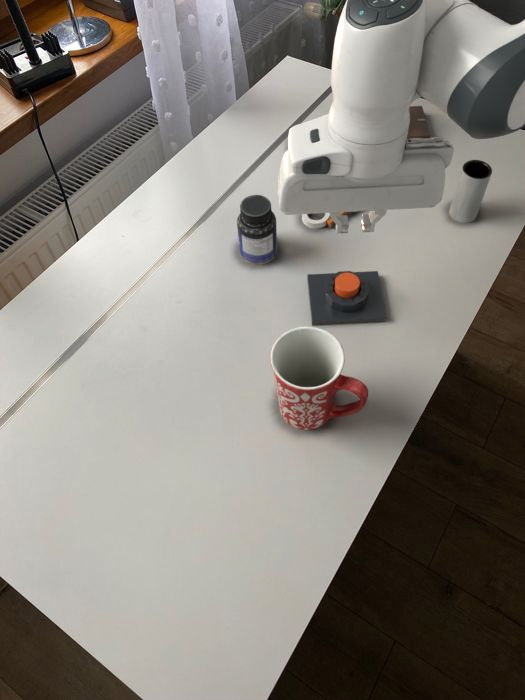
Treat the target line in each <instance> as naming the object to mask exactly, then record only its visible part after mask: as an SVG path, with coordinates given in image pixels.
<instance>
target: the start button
mask: <svg viewBox="0 0 525 700" xmlns="http://www.w3.org/2000/svg"><path fill="white" fill-rule="evenodd" d="M359 286H360V280H359V278H358V277H357V276H356V275H354V274H352V273H342V274H340V275H339V276H337V278H336V280H335V292H336V294H337V295H338V296H340V297H342V298H346V299H349V298H353V297H355V296H356V295H357V294H358V291H359Z"/></svg>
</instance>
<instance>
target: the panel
mask: <svg viewBox="0 0 525 700" xmlns="http://www.w3.org/2000/svg"><path fill="white" fill-rule="evenodd" d="M409 109H410V123H409V128H408V134H407V138H425V139H426V138H432V135H431V131H430V128H429V124H428V121H427V118H426V115H425V111H424V108H423V105H410V108H409Z"/></svg>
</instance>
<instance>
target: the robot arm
mask: <svg viewBox="0 0 525 700" xmlns="http://www.w3.org/2000/svg"><path fill="white" fill-rule="evenodd" d="M331 59H332V60H331V71H330V72H331V73H330V86H331V92H332V96H333V98H332V103H331V105H330V107H329V111H328V113H326V114H324V115H321V116H319V117H316V118H313V119H311V120H308V121H305V122H301V123H298V124H295V125H293V126H292V127H291V128H289V130H288V137H287V148H288V149H286V151H285V152H284V154H283V155H282V158H281V161H280V164H279V170H278V177H277V204H278V205H277V206H278V210H279V211H280V212H281V213H282V214H284V215H285V216H293V215H302V214H309V215H311V214H315V213H330V217H331V219H332V220H333V221H334V222H335V224H336V226H335V232H336V234H337V235H338V234H348V233H349V226H350V223H349V216H348V217H347V215H341V212H354V213H356V212H368V213H363V214H362V215H361V222H360V226H361V232H362V233H374V232H375V227H376V224H377V223H379V221H380V220H381V219H383V218H384V217H385V216H386V215H387V211H393V210H410V209H431V208H435V207H436V206H437V205H438V204H439V203H441V202H442V200H443V197H444V191H445V184H446V169H447V168H448V167H450V165H451V163H452V160H453V156H454V152H455V147H454V145H453V143H451V142H450V141H448V140H445V138H444V137H442V136H433V137H432V136H431V137H430V138H426V139H425V138H407V134H408V128H409V123H410V109H409V108H410V106H412V104H413V102H414V101H416V100H419V99H421V98H423V99H425V100H426V101H427V102H429V103H430V104H432V105H433V106H434V107H437V109H439V110H441V111H442V112H443V113H444V114H446V115H447V116H448V117H449V118H450V120H452V121H453V123H455V124H456V125H457V126H458V127H459V128H461V130H463V131H464V132H465V133H466V134H467V135H468V136H470V137H471V138H472V139H475V140H487V139H495V138H500V137H504V136H507V135H511V134H513V133H516V132H518V131H519V130H522V129H523V128H524V127H525V19H523V20H522V21H521V22H519V23H515V24H510V23H508V22H506V21H504V20H502V19H501V18H499V17H497V16H495V15H493V14H492V13H490V12H488V11H486V10H485V9H483V8H481V7H479V5H477V4H476V3H474V2H472V1H470V0H346V1H345V3H344V6H343V8H342V11H341V14H340V16H339V20H338V23H337V27H336V31H335V36H334V43H333V51H332V58H331ZM355 211H356V212H355Z"/></svg>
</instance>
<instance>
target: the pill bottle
mask: <svg viewBox="0 0 525 700" xmlns="http://www.w3.org/2000/svg"><path fill="white" fill-rule="evenodd" d="M239 210H240V211H239V212H240V213H238V216H237V219H236V227H237V235H238V236H237V238H238V248H239V255H240V258H241V259H242V260H243V261H244V262H246V263H247V264H250V265H253V266H261V265H266V264H268V263H270V262H271V261H273V260H274V259H275V257H276V256H277V253H278V241H277V240H278V239H277V238H278V237H277V236H278V235H277V232H278V231H277V217H276V215H275V213H274V211H272V203H271V201H270V199H269V198H267V197H266V196H264V195H261V194H251V195H248V196H246V197H244V198H243V199H242V200H241V202H240V203H239Z"/></svg>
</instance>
